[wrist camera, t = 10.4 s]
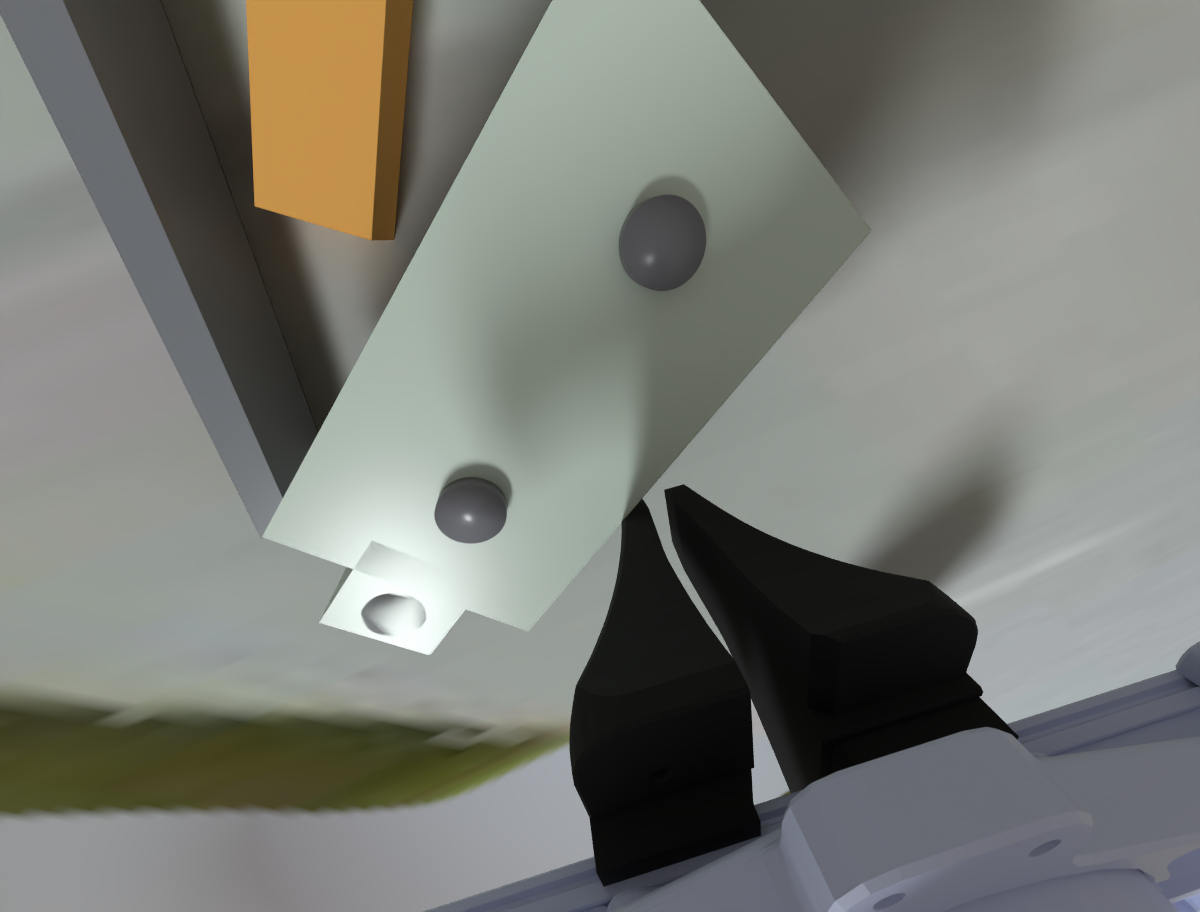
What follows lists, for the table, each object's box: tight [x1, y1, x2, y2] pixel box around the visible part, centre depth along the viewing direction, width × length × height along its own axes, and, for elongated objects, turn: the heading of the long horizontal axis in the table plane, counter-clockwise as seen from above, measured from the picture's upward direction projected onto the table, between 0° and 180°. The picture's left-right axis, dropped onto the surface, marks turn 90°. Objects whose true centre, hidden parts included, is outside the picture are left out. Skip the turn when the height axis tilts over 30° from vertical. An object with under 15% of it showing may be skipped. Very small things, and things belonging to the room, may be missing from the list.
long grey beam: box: [0, 0, 318, 538], centre depth 11 cm, size 8×15×3 cm, turn 1°
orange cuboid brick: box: [246, 0, 413, 240], centre depth 10 cm, size 2×5×2 cm, turn 163°
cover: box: [262, 0, 871, 655], centre depth 12 cm, size 7×15×6 cm, turn 142°
